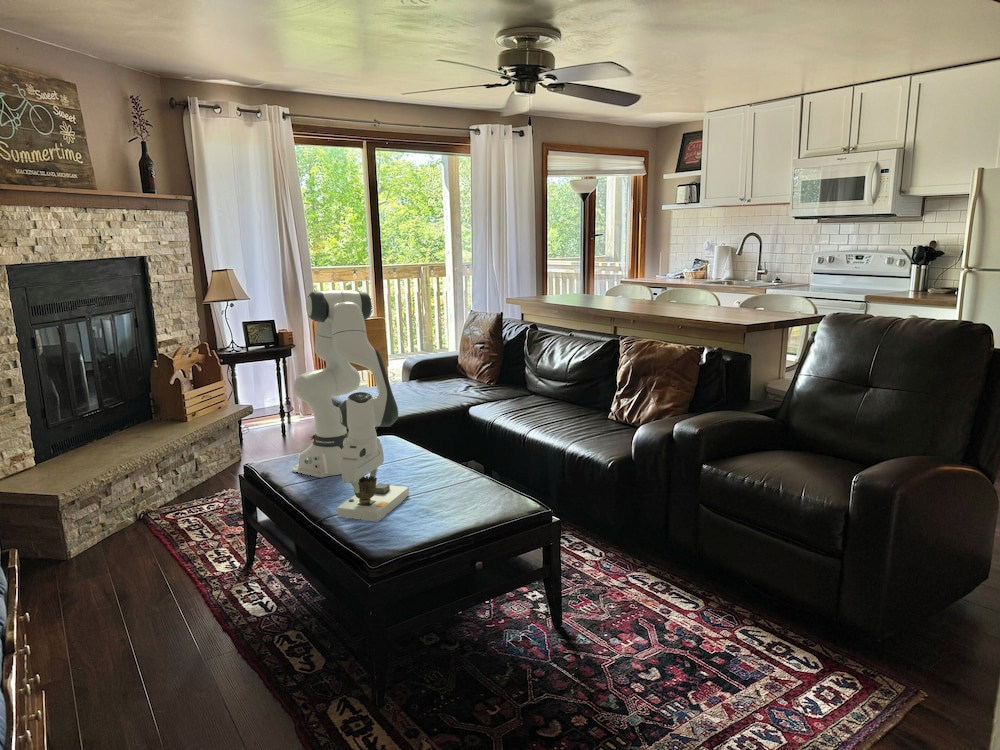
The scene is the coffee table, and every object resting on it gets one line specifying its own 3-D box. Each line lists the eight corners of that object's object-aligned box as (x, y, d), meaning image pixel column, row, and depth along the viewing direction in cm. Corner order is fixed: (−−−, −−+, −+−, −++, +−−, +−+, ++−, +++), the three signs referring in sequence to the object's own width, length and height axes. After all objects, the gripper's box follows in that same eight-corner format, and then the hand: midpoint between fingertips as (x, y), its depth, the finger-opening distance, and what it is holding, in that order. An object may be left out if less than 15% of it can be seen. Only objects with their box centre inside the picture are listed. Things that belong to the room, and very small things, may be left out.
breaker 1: (358, 513, 208) (357, 504, 207) (364, 508, 211) (364, 499, 211) (369, 514, 207) (369, 505, 206) (375, 510, 210) (375, 500, 210)
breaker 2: (373, 496, 217) (372, 487, 216) (379, 492, 220) (378, 483, 220) (384, 497, 215) (383, 488, 215) (390, 493, 219) (389, 484, 219)
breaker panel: (337, 516, 206) (337, 506, 205) (372, 491, 226) (371, 482, 225) (377, 521, 201) (377, 511, 201) (409, 495, 222) (408, 486, 221)
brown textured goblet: (364, 498, 212) (364, 474, 212) (381, 502, 209) (381, 477, 208) (348, 504, 206) (347, 479, 205) (365, 507, 202) (365, 482, 201)
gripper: (370, 434, 215) (372, 474, 218) (336, 453, 196) (339, 497, 199) (387, 436, 213) (389, 476, 216) (355, 455, 194) (357, 499, 197)
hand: (365, 486), depth 207 cm, fingers open, 8 cm apart
